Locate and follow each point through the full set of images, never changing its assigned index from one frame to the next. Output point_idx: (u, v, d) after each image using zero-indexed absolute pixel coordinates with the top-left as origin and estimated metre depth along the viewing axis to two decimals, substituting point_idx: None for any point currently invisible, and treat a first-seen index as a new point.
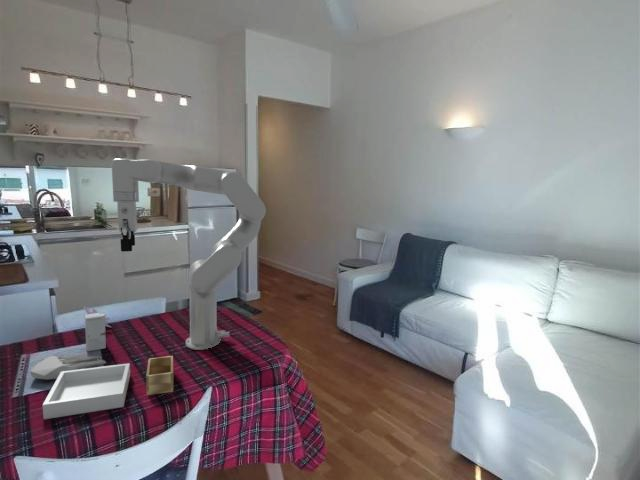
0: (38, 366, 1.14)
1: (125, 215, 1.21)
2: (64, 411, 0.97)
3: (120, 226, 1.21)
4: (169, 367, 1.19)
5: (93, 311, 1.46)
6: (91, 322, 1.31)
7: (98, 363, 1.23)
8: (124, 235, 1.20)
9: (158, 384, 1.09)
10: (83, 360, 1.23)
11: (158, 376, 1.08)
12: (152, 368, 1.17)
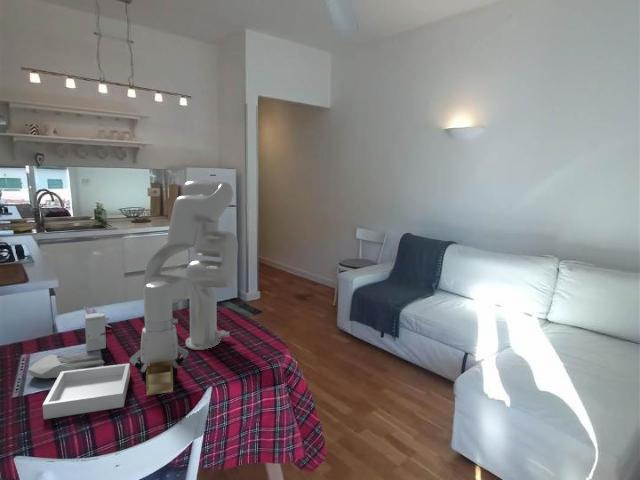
0: (36, 365, 1.15)
1: None
2: (64, 411, 0.97)
3: (177, 353, 1.13)
4: (169, 367, 1.19)
5: (93, 311, 1.46)
6: (91, 322, 1.31)
7: (96, 363, 1.23)
8: None
9: (158, 384, 1.08)
10: (82, 359, 1.23)
11: (158, 375, 1.08)
12: (152, 368, 1.17)
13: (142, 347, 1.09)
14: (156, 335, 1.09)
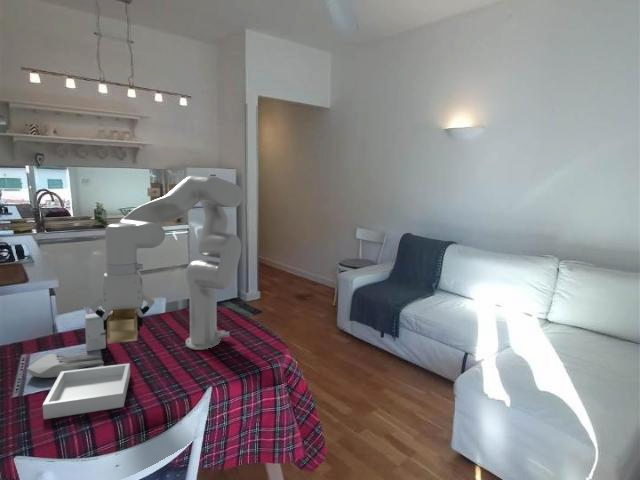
0: (36, 364, 1.15)
1: (142, 287, 1.07)
2: (64, 411, 0.97)
3: (142, 300, 1.06)
4: (134, 319, 1.12)
5: (93, 311, 1.46)
6: (91, 322, 1.31)
7: (95, 363, 1.23)
8: None
9: (120, 331, 1.02)
10: (81, 359, 1.24)
11: (120, 322, 1.01)
12: (115, 319, 1.10)
13: (103, 292, 1.02)
14: (118, 280, 1.02)
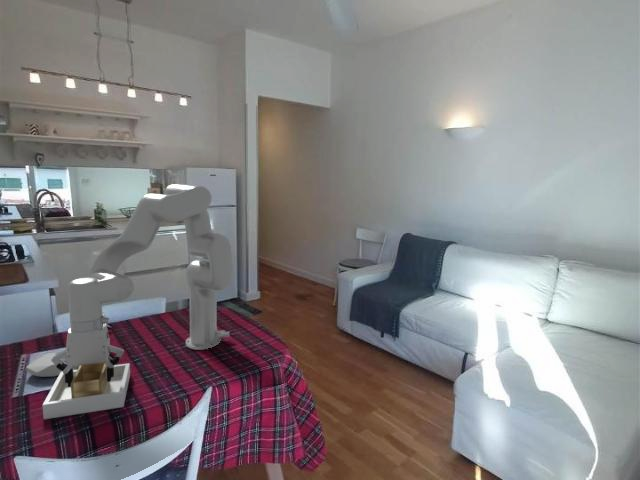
0: (35, 362, 1.16)
1: (108, 340, 1.06)
2: (64, 411, 0.97)
3: (108, 354, 1.05)
4: None
5: None
6: None
7: None
8: None
9: (85, 392, 1.01)
10: None
11: (84, 383, 1.01)
12: (84, 374, 1.10)
13: (67, 349, 1.01)
14: (82, 336, 1.01)
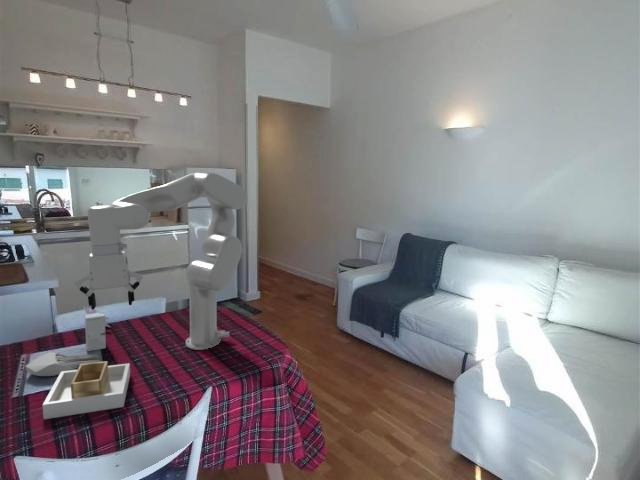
0: (34, 362, 1.16)
1: (127, 266, 1.12)
2: (64, 411, 0.97)
3: (128, 279, 1.11)
4: None
5: (92, 311, 1.46)
6: (91, 322, 1.31)
7: None
8: None
9: (85, 392, 1.01)
10: (80, 358, 1.24)
11: (84, 383, 1.01)
12: (84, 374, 1.10)
13: (90, 272, 1.06)
14: (103, 260, 1.06)
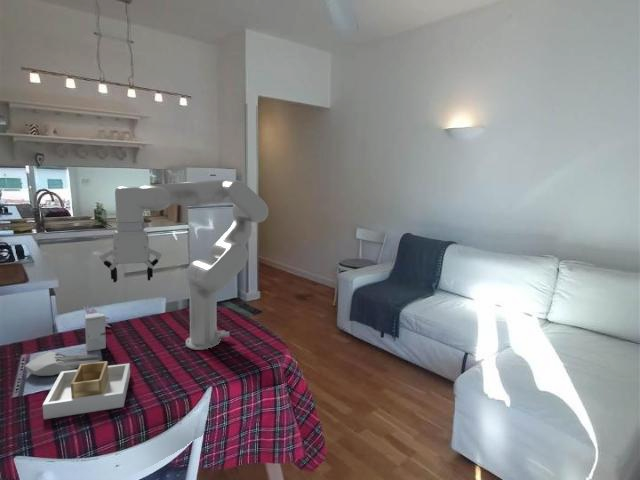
0: (34, 361, 1.17)
1: (148, 243, 1.20)
2: (64, 411, 0.97)
3: (148, 255, 1.19)
4: None
5: (92, 311, 1.46)
6: (91, 322, 1.31)
7: None
8: (156, 262, 1.22)
9: (85, 392, 1.01)
10: (80, 358, 1.24)
11: (84, 383, 1.01)
12: (84, 374, 1.10)
13: (114, 247, 1.15)
14: (127, 236, 1.15)
